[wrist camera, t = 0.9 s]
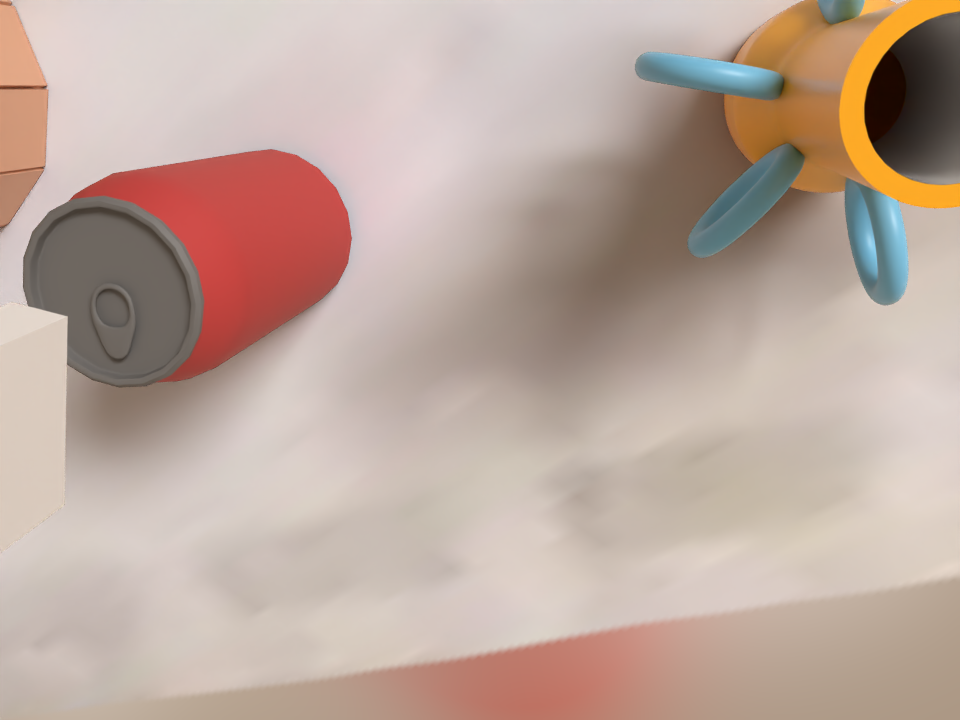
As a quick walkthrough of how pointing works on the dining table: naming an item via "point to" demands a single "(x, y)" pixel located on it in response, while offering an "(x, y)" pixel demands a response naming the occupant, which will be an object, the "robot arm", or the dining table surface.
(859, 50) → the cylinder
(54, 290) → the beer can
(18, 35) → the shallow terracotta dish
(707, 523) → the dining table surface
